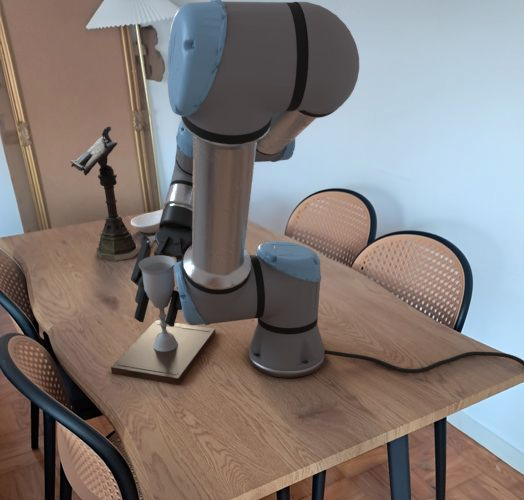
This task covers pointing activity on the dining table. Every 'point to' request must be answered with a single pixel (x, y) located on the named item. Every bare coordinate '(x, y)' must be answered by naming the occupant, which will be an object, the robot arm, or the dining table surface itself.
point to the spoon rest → (147, 222)
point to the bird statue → (108, 201)
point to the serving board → (164, 354)
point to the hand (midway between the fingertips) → (154, 322)
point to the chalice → (160, 293)
